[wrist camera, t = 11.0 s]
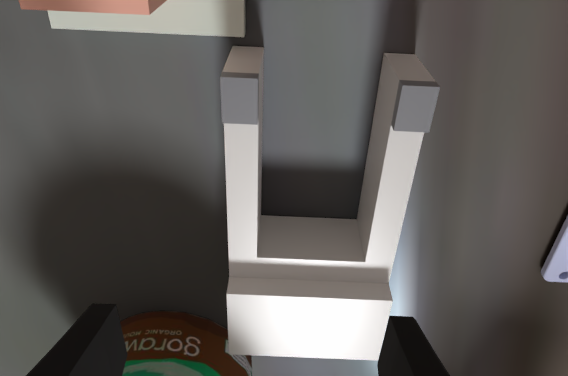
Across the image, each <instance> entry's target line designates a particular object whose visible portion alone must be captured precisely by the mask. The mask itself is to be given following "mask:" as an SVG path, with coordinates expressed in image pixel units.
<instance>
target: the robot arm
mask: <svg viewBox="0 0 568 376" xmlns="http://www.w3.org/2000/svg"><path fill="white" fill-rule="evenodd" d="M541 274H542V276H543V278H544V279H545V280H546V281H550V282H568V216H567V218H566V220H565V222H564V224H563V226H562V228H561V230H560V232H559V234H558V236H557V238H556V240H555V242H554V245H553V247H552V249H551V251H550V253H549V255H548V257H547V259H546V261H545V263H544V265H543V267H542V269H541ZM127 355H128V354H127V349H126V345H125V341H124V337H123V332H122V328H121V324H120V320H119V315H118V311H117V307H116V305H114V304H92V305H91V306H89V307H88V309H87V310H86V311H85V312H84V313H83V314H82V315H81V316H80V318H79V319H78V320H77V321H76V322H75V323H74V324H73V325H72V327H71V328H70V329H69V330H68V331H67V332H66V333H65V334H64V336H63V337H62V338H61V339H60V340H59V341H58V342H57V343H56V344H55V345H54V347H53V348H52V349H51V350H50V351H49V352H48V353H47V354H46V355H45V356H44V357H43V358H42V359H41V360H40V361H39V363H38V364H37V365H36V366H35V367H34V368H33V369H32V370H31V371H30V372H29V373H28V374H27V375H26V376H122V375H123V371H124V367H125V363H126V359H127ZM377 365H378V374H379V376H450V375H449V373H448V372H447V370H446V369H445V367H444V366H443V364H442V363H441V361H440V359H439V358H438V356H437V355H436V353H435V352H434V350H433V348H432V347H431V345H430V343H429V342H428V340H427V338H426V337H425V335H424V333H423V332H422V330H421V328H420V327H419V325H418V323H417V321H416V320H415V319H414V318H413V317H403V316H389V320H388V324H387V328H386V332H385V336H384V340H383V344H382V348H381V352H380V356H379V360H378V364H377Z"/></svg>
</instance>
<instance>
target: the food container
mask: <svg viewBox="0 0 568 376" xmlns="http://www.w3.org/2000/svg"><path fill="white" fill-rule="evenodd" d="M120 324H121V328H122V332H123V337H124V341H125V345H126V349H127V354H128V355H127V359H126V363H125V367H124V371H123V375H122V376H252V362H251V356H250V355H233V354H229V344H228V329H226V328H224V327H222V326H220V325H219V324H217V323H215V322H213V321H211V320H210V319H206V318H203V317H199V316H196V315H192V314H188V313H185V312H173V311H152V312H146V313H141V314H137V315H134V316H131V317H128V318H127V319H125V320H123V321H121V322H120Z"/></svg>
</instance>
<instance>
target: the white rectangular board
mask: <svg viewBox="0 0 568 376" xmlns="http://www.w3.org/2000/svg"><path fill="white" fill-rule="evenodd" d="M47 11H48V15H49V19H50V23H51V28H57V29H78V30H99V31H121V32H142V33H163V34H185V35H206V36H228V37H244V36H245V33H246V17H245V0H167V1H166V2H164V3H163V4H162V5H161V6H160V7H159V8H157V9H156V10H155V11H154V12H153V13H151V14H150V15H138V14H116V13H94V12H72V11H50V10H47Z"/></svg>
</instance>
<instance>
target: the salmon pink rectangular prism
mask: <svg viewBox="0 0 568 376" xmlns="http://www.w3.org/2000/svg"><path fill="white" fill-rule="evenodd" d="M166 1H167V0H19V3H20V7H21V9H28V10H50V11H72V12H94V13H116V14H138V15H150V14H151V13H153V12H154V11H155V10H156V9H157V8H159V7H160V6H161V5H162V4H163V3H164V2H166Z"/></svg>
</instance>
